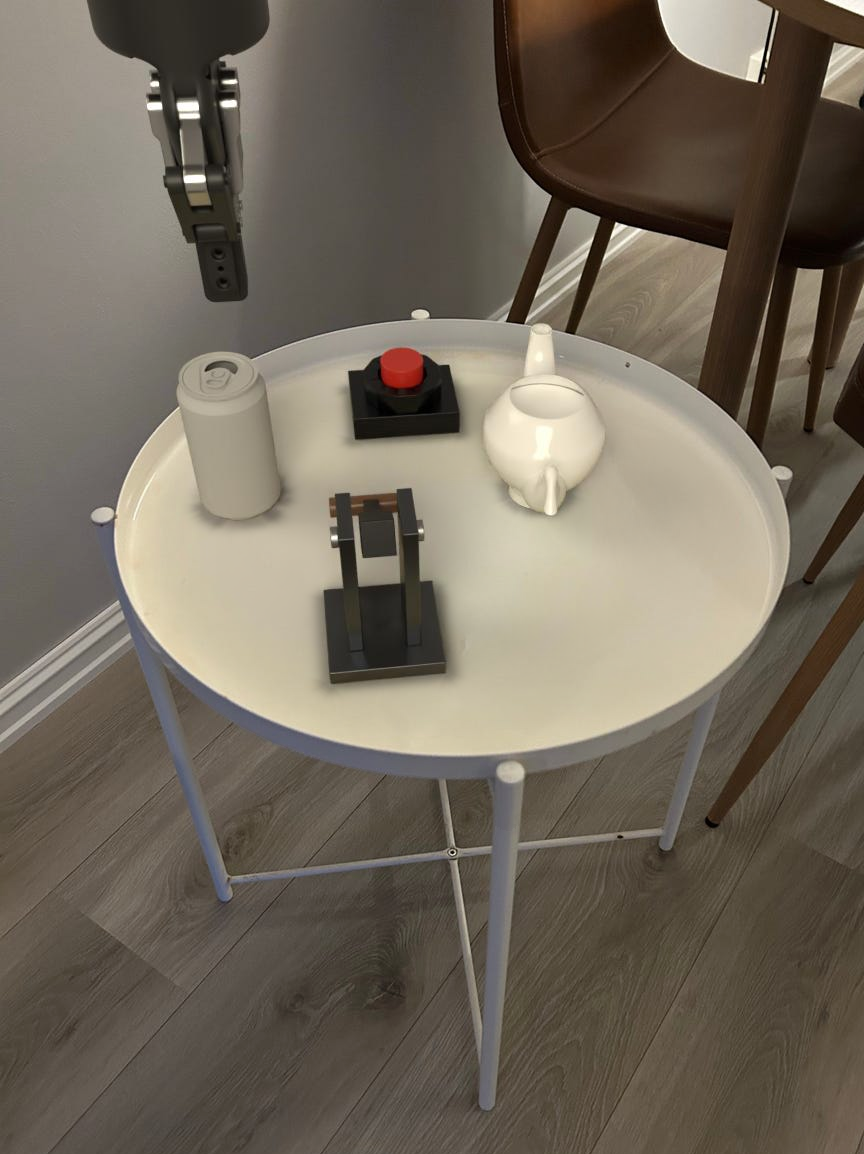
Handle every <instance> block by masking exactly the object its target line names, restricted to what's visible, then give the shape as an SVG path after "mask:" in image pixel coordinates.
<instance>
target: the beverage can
mask: <svg viewBox="0 0 864 1154" xmlns="http://www.w3.org/2000/svg"><path fill="white" fill-rule="evenodd" d="M176 399H177V404H178V407H179V411H180V416H181V420H182V425H183V429H184V434H185V438H186V443H187V447H188V452H189V456H190V460H191V465H192V469H193V473H194V477H195V482H196V486H197V491H198V496H199V500H200V502H201V504H202V506H203V507H204V508H205V509H206V510H207V511H208V512H209V513H210V514H213V515H215V516H217V517H220V518H223V519H226V520H232V521H246V520H250V519H254V518H255V517H257V516H259V515H261V514H264V513H265V512H266V511H268V510H269V509H271V508H272V507H273V506H274V505H275V504H276V502H277V501H278V500H279V498H280V496H281V490H282V485H281V479H280V472H279V465H278V459H277V453H276V445H275V439H274V432H273V425H272V420H271V419H272V418H271V413H270V406H269V405H270V404H269V400H268V393H267V386H266V381H265V378H264V377H263V376H262V374H261V373H259V368H258V366H257V364H256V363H255V361H253V360H252V358H250V357H248V356H246V355H244V354H241V353H237V352H232V351H213V352H207V353H204V354H201V355H199V356H198V355H197V356H196V357H194V358H192V359H190V360H189V361H188V362H186V363H185V364H184V365H183V366H182V367H181V368H180V370H179V373H178V384H177V387H176Z"/></svg>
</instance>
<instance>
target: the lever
mask: <svg viewBox="0 0 864 1154" xmlns="http://www.w3.org/2000/svg"><path fill="white" fill-rule="evenodd" d="M350 498H351V508H352V517H358V518H357V519H358V529H359V530H358V531H359V540H360V550H361V556H362V557H361V558H362V559H373V558H374V559H375V558H385V557H396V556H398V551H397V550H398V549H397V539H396V537H397V536H396V525H395V524H396V523H395V517H394V514H397V492H388V493H374V494H362V495H350ZM328 507H329V508H328V509H329V517H330V519H332V518H333V519H334V518H336V506H335V496H334V497H328Z"/></svg>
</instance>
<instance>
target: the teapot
mask: <svg viewBox="0 0 864 1154" xmlns="http://www.w3.org/2000/svg"><path fill="white" fill-rule="evenodd" d="M553 335H554V334H553V328H552V327H551V326H550V325H549V324H547V323H535V324H533V325H532V326H531V327H530V330H529V336H528V343H527V350H526V355H525V362H524V366H523V373H522V377H521V378H518V379H517V380H514V381H513V382H511V383H510V384H509V385H508V386H506V387H505V388H504V389H503V390H502V391H501V392H500V394H499V395H498V396H497V397H496V398H495V399H494V401H493V402H492V403H491V404H490V405H489V407H488V408H487V410H486V412H485V414H484V416H483V420H482V426H481V427H482V428H481V437H482V438H481V439H482V445H483V449H484V452H485V455H486V458H487V460H488V462H489V464H490V465H491V467H492V469H493V470H494V472H495V474H496V475H498V477H499V478H500V479H501V480H502V481H503V482H505V484H506V485H508V488H507V490H508V494H509V496H510V498H511V499H512V500H513V501H514V502H515V503H516V504H518V505H519V506H522V507H524V508H527V509H529V510H533V511H534V512H537V513H539V514H546V515H547V516H554V515H556V514H557V512H558V508H559V507H561V505H562V504H563V503H564V500H565V499H566V496H567V492H568V491H570V490H573V489H574V488H575V487H577V486H578V485H580V484H581V483H582V482H583V481H585V480H586V479H587V477H588V476H589V475H590V474H591V473H592V472H593V470H594V469H595V467H596V466H597V465H598V463H599V461H600V458H602V457H601V456H602V455H603V452H604V448H605V443H606V437H607V430H606V429H607V428H606V427H607V426H606V422H605V419H604V417H603V414H602V412H601V411H600V410H599V407H598V406H597V405H596V403H595V401H594V400H593V398H592V396H591V395H590V393H588V392H587V390H586V389H585V388H584V387H582V386H581V385H580V384H578V383H577V382H576V381H574V380H573V379H570V378H567V377H564V376H562V375H557V371H556V359H555V348H554V346H555V345H554V336H553Z"/></svg>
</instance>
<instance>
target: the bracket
mask: <svg viewBox="0 0 864 1154" xmlns="http://www.w3.org/2000/svg"><path fill="white" fill-rule="evenodd" d="M395 490H396V493H397V513H396V514H397V537H398V558H399V559H398V560H399V561H398V563H399V582H397V583H387V584H376V585H375V584H374V585H365V586H359V576H358V575H359V574H358V562H357V551H356V539H355V528H354V521H353V519H354V518H353V516H352V508H351V498H350V496H351V492H341V493H340V492H339V493H334V497H335V506H336V517H335V518H336V525H335V526H329V536H330V538H329V539H330V546H331V549H338V550H339V551H338V552H339V559H340V571H341V580H342V587H339V588H329V589H323V591H322V593H323V606H324V621H325V632H326V633H325V634H326V635H325V636H326V648H327V650H326V651H327V663H328V675H329V676H328V677H329V683H330V684H331V685H336V684H347V683H358V682H368V681H377V680H389V679H399V678H410V677H421V676H429V675H430V676H431V675H441V674H446V672H447V661H446V655H445V649H444V643H443V638H442V631H441V625H440V619H439V613H438V606H437V599H436V593H435V588H434V583H433V582H434V581H433V580H422V581H421V569H420V567H421V566H420V542H424V541H425V540H426V539H425V538H426V537H425V536H426V535H425V525H424V520H423V519H421V518H420V519H417V513H416V507H415V501H414V494H413V489H412V487H404V488H396V489H395Z"/></svg>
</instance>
